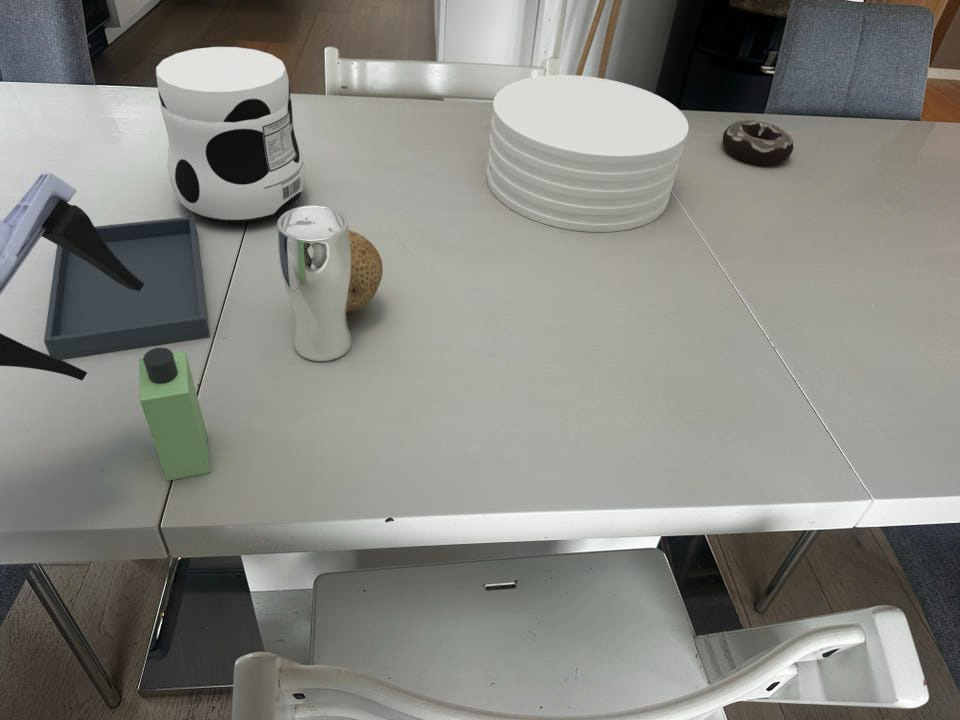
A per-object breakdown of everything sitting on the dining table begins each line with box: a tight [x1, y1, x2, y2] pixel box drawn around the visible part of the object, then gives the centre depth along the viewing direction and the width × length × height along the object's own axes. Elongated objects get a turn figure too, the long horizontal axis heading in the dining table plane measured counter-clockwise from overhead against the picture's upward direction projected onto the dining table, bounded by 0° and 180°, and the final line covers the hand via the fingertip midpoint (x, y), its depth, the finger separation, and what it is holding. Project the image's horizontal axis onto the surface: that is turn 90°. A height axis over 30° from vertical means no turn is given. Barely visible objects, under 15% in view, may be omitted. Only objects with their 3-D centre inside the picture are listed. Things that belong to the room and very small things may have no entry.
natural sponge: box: [346, 229, 384, 314], centre depth 78 cm, size 9×9×10 cm
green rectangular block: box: [139, 347, 211, 482], centre depth 60 cm, size 4×5×12 cm
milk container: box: [155, 46, 306, 223], centre depth 92 cm, size 17×17×18 cm
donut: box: [722, 119, 794, 166], centre depth 121 cm, size 12×12×4 cm
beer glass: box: [276, 204, 352, 362], centre depth 72 cm, size 7×7×15 cm
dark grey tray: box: [43, 216, 211, 360], centre depth 81 cm, size 15×21×3 cm
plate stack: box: [486, 74, 690, 233], centre depth 105 cm, size 28×28×12 cm
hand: (109, 329), depth 53 cm, fingers open, 7 cm apart
